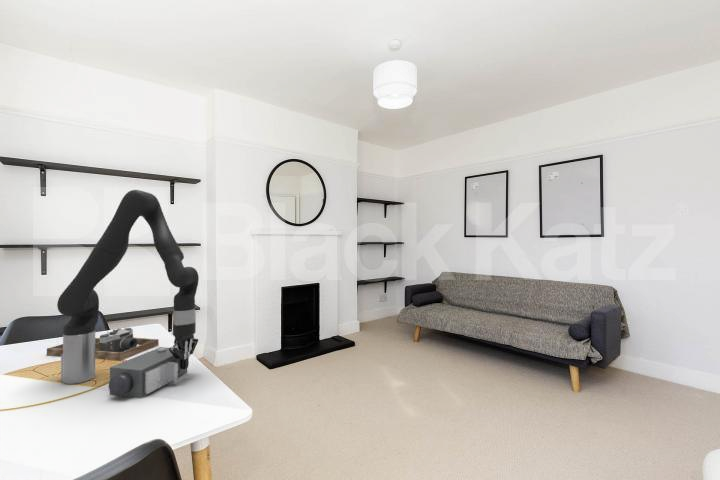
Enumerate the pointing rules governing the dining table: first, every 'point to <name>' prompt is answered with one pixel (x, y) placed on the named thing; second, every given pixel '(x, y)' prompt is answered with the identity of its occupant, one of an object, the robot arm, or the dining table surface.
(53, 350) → the charger corral
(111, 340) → the camera
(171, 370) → the battery door
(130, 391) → the camera housing
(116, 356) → the camera corral
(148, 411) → the dining table surface
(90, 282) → the robot arm
